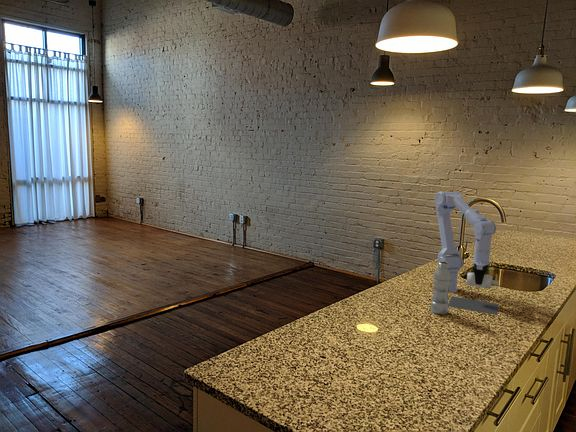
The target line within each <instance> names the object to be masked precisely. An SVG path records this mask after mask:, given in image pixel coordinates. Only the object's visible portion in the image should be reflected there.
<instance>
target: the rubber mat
mask: <svg viewBox="0 0 576 432" xmlns="http://www.w3.org/2000/svg"><path fill="white" fill-rule="evenodd" d="M448 303H449V308H455V309H456V308H457V309H461V310H466V311H473V312H478V313H482V314H489V315H496V316H498V313H499V303H494V302H489V301H484V300H476V299H471V298H465V297H459V296H453V295H451V298H450V300H449V301H448Z"/></svg>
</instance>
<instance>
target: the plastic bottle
mask: <svg viewBox="0 0 576 432" xmlns="http://www.w3.org/2000/svg"><path fill="white" fill-rule="evenodd" d="M437 267H438V268H436V269H437V270H435V272H434V273H433V276H432V277H433V292H432V293H433V294H432V298H431V302H430V307H429V308H430V310H431V312H432V313H433V314H436V315H446V314H447V313H448V312H449V309H450V307H449V287H450V283H451V279H452V276H451V273H450V272H449V270H448V268H449V263H448V262H439V263H438V264H437Z"/></svg>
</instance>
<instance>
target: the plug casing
mask: <svg viewBox="0 0 576 432" xmlns="http://www.w3.org/2000/svg"><path fill="white" fill-rule="evenodd" d="M466 275H467V276H466V285H467V286H470V287H476V288H483V289H491V288H492V285H496V286H499V282H500V281H499V280H495V279H493V275H491V274H487V273H485V275H484V278H483V282H482V284H481V285H478V284H476V283H475V274H474V271H473V272H467V274H466Z"/></svg>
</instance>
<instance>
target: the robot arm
mask: <svg viewBox="0 0 576 432" xmlns="http://www.w3.org/2000/svg"><path fill="white" fill-rule="evenodd" d="M434 203H435V209H436V217H437V221H438V222H437V223H438V229H439V236H440V242H441V250H440V251H439V252H438V253H437V265H438V263H439V262H448V263H449V268H448V270H449V272H450V273H451V276H452V279H451V283H450V287H449V292H451V293H455V294H457V291H458V290H459V287H458V286H457V285H458V276H459V275H458V274H459V272H460V271H461V269H462V268H463V266H464V261H463V258H462V255H461V252H460V251H459V250H458V249H457V248H455V247H456V246H455V240H454V234H453V228H452V227H453V226H452V220H451V213H452V211H454V210H455V209H458V211H460V212H461V213H462V214H463V215H464V220H466V221H467V222H468V224H469V225H471V227H472V229H473V233H474V238H475V245H474V252H473V253H474V254H473V260H472V262H473V265H472V267H471V269H472V270H473V273H474V274H475V283H476V284H478V285H481V284H482V282H483V278H484V275H485V274H487V272H488V270H489V269H488V268H489V265H493V262H492V261H490V257H491V247H492V235H494V234H495V233H496V230H497V225H496V223H495V222H494V220H492V219H490V220H489V219H487V218H486V217H485V216H483V215H482V214H481V213H480V210H479V209H476V208H475V209H474V208H473V209H472V207H470V206H469V205H468V204H467V202H466V201H465V200H464V198H463V195H462V194H461V193H460V192H459V191H438V192H437V193H436V195H435V197H434ZM437 269H438V268H436V270H437ZM436 270H435V271H436Z"/></svg>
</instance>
